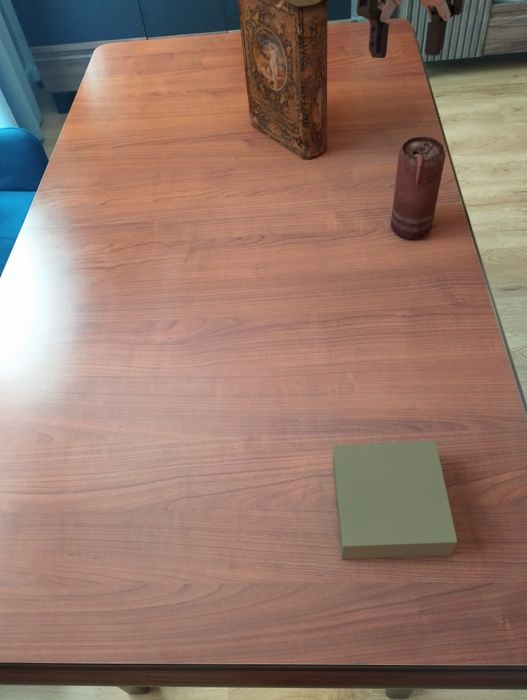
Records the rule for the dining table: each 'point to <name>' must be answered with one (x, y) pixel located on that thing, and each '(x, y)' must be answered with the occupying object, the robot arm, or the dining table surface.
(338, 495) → the plate
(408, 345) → the dining table surface
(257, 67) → the book
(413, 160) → the can
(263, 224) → the dining table surface
